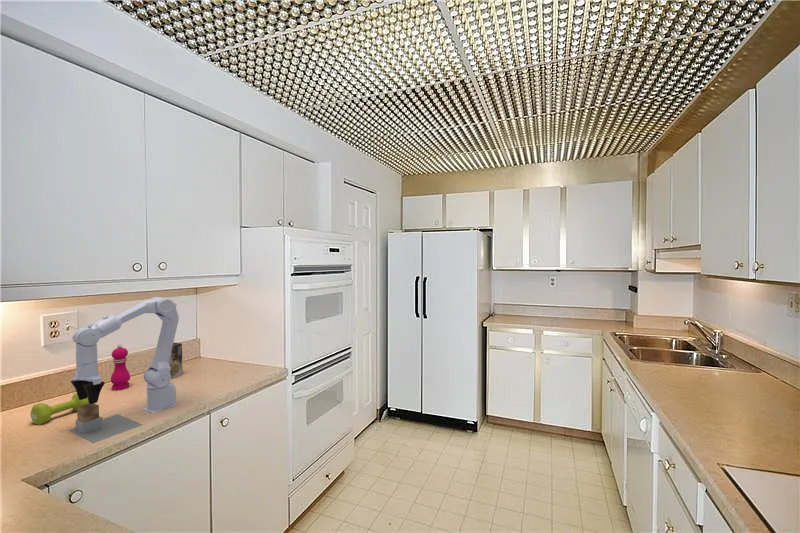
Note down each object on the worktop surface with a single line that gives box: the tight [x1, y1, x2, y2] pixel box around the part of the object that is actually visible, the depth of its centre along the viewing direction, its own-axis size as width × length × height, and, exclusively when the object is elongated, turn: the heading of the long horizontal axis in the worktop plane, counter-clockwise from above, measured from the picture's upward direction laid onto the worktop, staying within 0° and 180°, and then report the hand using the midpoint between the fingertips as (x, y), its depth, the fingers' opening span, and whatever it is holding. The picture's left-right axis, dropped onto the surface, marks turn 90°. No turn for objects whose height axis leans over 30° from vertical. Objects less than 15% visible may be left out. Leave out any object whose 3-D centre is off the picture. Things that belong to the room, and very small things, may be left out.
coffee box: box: [169, 342, 184, 380], centre depth 188 cm, size 9×6×16 cm
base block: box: [75, 416, 103, 434], centre depth 133 cm, size 6×6×4 cm
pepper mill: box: [110, 344, 131, 391], centre depth 173 cm, size 7×7×20 cm
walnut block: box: [76, 403, 100, 423], centre depth 132 cm, size 4×4×4 cm
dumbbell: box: [30, 391, 89, 425], centre depth 143 cm, size 16×8×7 cm, turn 157°
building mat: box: [68, 413, 144, 444], centre depth 134 cm, size 15×18×1 cm
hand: (88, 401), depth 132 cm, fingers open, 7 cm apart
